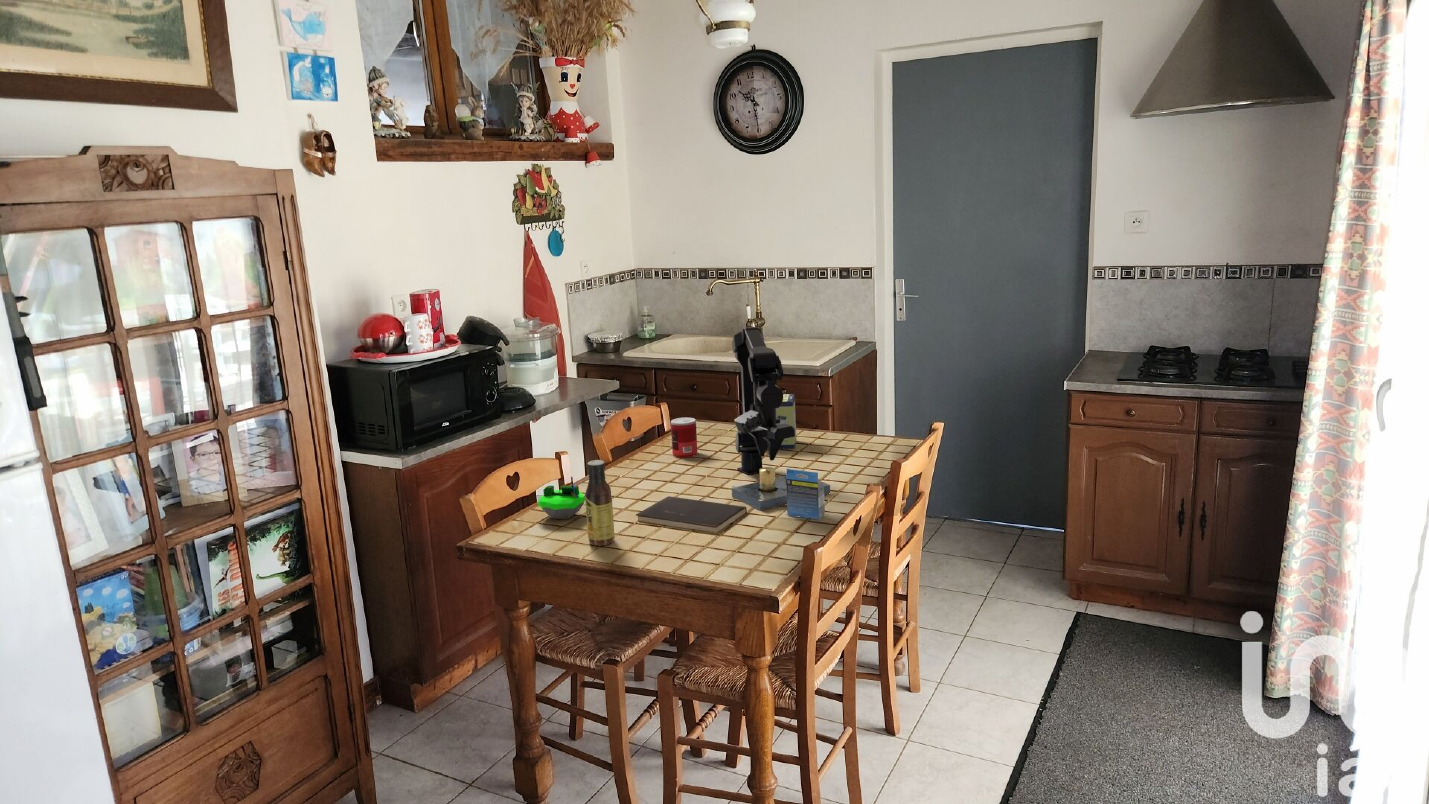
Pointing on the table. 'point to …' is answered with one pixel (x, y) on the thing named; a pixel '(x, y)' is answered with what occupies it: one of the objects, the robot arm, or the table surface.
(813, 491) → the label tape box
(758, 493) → the jig
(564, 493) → the green floating island model
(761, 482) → the cylinder
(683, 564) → the table surface
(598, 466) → the sauce bottle
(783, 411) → the protein box
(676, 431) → the canned food
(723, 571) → the table surface
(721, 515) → the hardcover book
